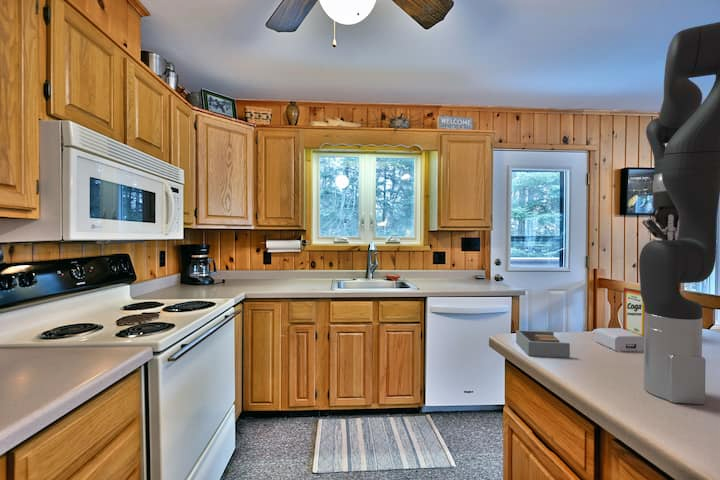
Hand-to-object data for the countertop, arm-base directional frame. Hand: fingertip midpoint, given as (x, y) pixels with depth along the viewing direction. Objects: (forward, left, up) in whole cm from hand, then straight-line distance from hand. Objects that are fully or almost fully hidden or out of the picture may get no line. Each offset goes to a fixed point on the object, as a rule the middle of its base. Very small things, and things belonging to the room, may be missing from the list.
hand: (670, 254), depth 93 cm
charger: (+13, +7, -30) cm, 33 cm away
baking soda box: (+24, -8, -29) cm, 39 cm away
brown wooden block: (+4, +30, -29) cm, 42 cm away
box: (+4, +31, -29) cm, 43 cm away
